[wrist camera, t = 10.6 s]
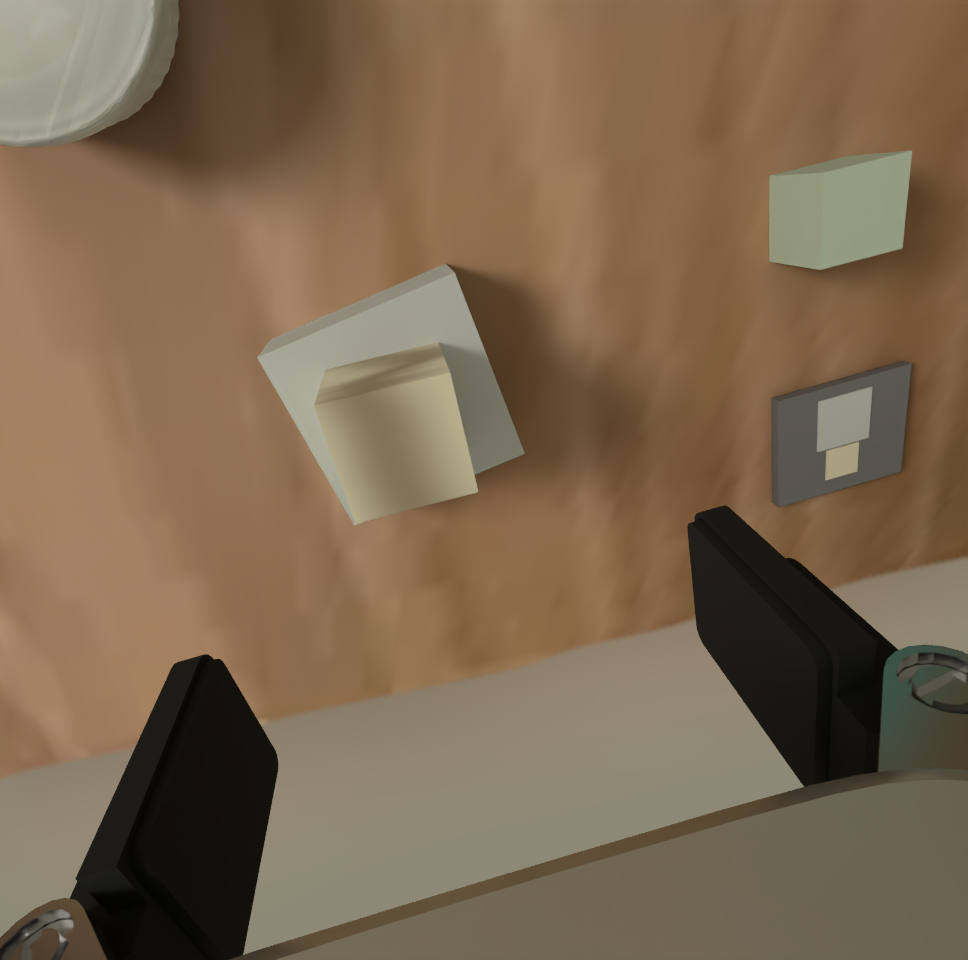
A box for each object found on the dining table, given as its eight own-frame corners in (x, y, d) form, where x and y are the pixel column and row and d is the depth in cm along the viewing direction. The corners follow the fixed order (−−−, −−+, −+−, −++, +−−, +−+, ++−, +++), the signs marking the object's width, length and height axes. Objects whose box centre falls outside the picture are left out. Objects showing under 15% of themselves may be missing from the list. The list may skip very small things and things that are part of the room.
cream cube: (438, 342, 26) (450, 372, 21) (462, 445, 28) (478, 492, 24) (325, 369, 26) (313, 405, 21) (359, 471, 28) (355, 523, 23)
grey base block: (444, 263, 28) (454, 272, 25) (508, 425, 32) (524, 453, 29) (272, 337, 29) (256, 357, 25) (357, 489, 33) (354, 525, 29)
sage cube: (846, 156, 29) (912, 150, 25) (841, 242, 31) (902, 248, 27) (768, 175, 29) (824, 172, 25) (768, 261, 31) (820, 269, 27)
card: (903, 360, 34) (913, 364, 33) (893, 467, 37) (902, 472, 37) (771, 398, 34) (779, 401, 33) (772, 502, 37) (779, 507, 36)
